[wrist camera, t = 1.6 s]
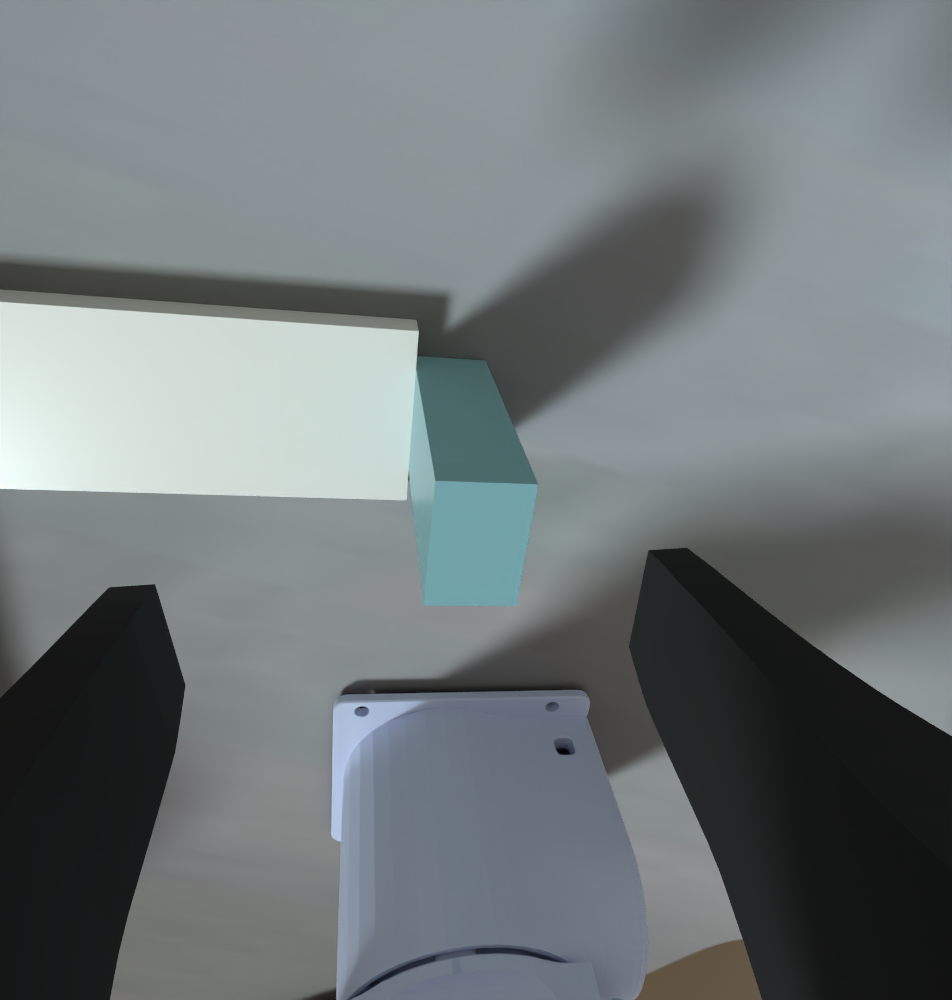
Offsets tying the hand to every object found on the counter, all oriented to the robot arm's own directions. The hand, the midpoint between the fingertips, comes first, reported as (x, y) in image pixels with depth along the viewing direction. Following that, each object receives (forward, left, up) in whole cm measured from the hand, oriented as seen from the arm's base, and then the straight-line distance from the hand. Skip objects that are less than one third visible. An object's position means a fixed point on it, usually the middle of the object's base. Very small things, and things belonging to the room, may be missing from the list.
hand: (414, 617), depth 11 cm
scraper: (+4, +1, -10) cm, 11 cm away
